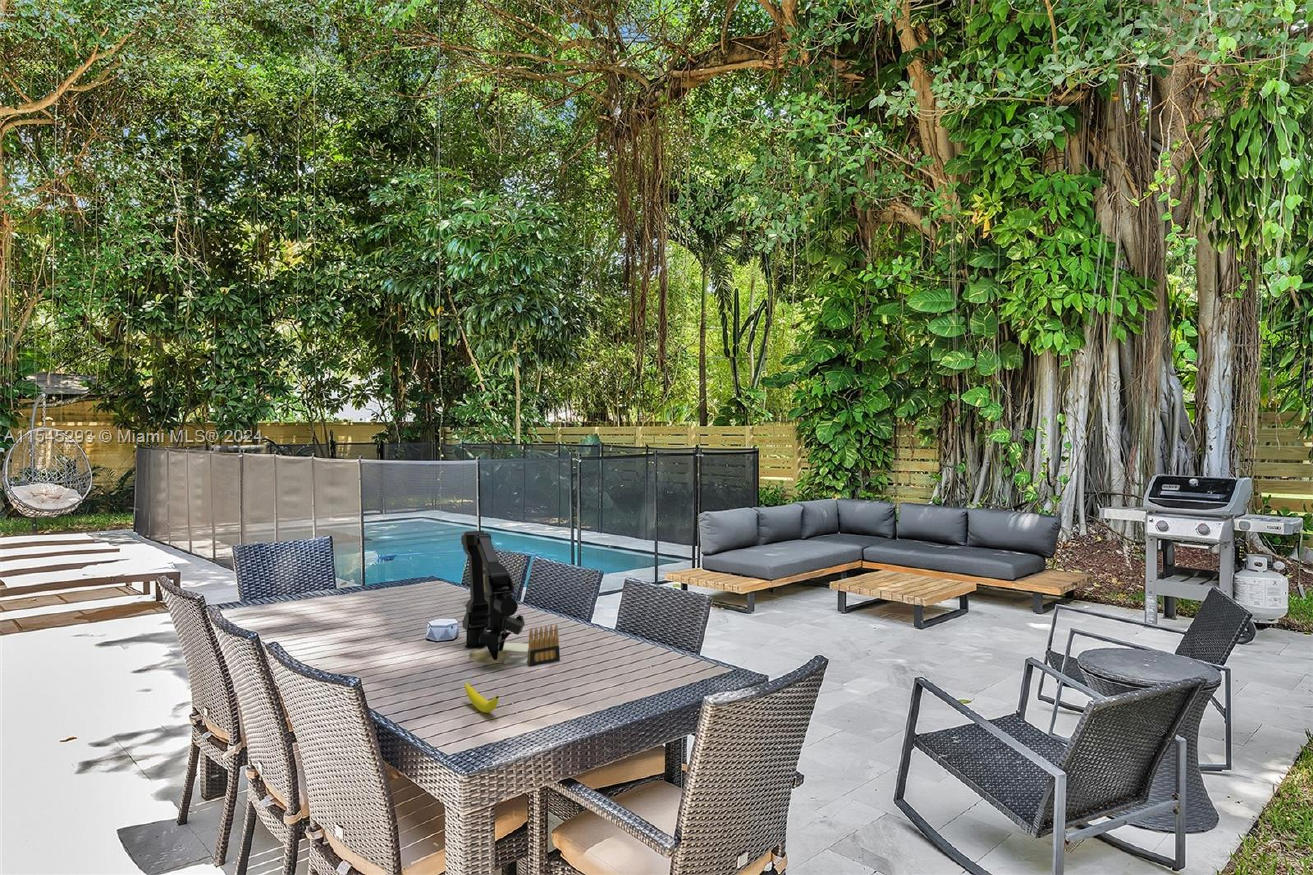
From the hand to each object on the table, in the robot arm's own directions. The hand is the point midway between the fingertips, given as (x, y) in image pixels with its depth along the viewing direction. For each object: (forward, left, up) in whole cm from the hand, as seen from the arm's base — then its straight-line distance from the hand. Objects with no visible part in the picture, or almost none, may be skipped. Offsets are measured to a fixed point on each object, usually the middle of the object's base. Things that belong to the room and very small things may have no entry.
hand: (497, 657), depth 248 cm
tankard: (-27, +73, -1) cm, 78 cm away
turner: (+1, 0, -1) cm, 1 cm away
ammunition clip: (+15, 0, -1) cm, 15 cm away
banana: (+9, -42, -1) cm, 43 cm away
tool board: (+5, +12, -1) cm, 13 cm away
